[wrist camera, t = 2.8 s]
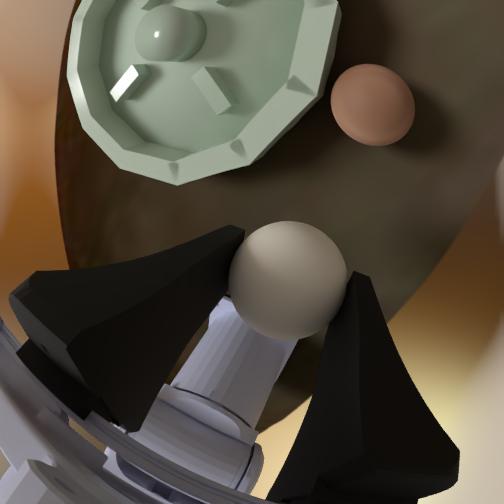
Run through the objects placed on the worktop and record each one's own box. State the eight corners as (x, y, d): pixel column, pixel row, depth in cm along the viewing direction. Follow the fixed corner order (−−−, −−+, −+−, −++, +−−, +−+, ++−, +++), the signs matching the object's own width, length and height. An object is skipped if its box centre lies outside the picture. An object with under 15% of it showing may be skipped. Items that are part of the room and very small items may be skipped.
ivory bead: (330, 303, 12) (310, 378, 9) (246, 270, 13) (203, 334, 10) (367, 226, 10) (363, 298, 6) (264, 188, 10) (212, 240, 7)
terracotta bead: (395, 150, 13) (405, 168, 10) (327, 124, 14) (315, 134, 11) (415, 84, 11) (433, 81, 8) (343, 58, 12) (337, 46, 8)
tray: (297, 200, 17) (284, 221, 15) (93, 144, 21) (67, 154, 18) (359, -64, 6) (355, -88, 4) (117, -45, 10) (90, -51, 7)
